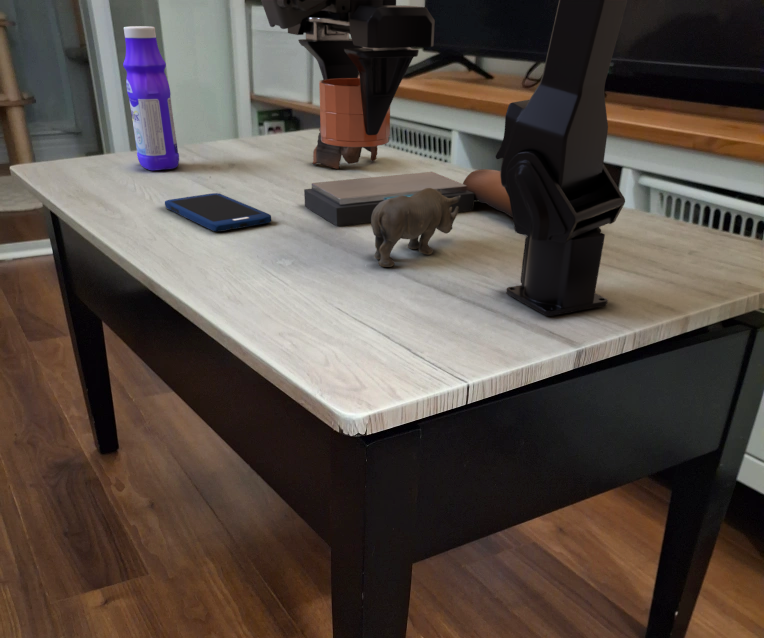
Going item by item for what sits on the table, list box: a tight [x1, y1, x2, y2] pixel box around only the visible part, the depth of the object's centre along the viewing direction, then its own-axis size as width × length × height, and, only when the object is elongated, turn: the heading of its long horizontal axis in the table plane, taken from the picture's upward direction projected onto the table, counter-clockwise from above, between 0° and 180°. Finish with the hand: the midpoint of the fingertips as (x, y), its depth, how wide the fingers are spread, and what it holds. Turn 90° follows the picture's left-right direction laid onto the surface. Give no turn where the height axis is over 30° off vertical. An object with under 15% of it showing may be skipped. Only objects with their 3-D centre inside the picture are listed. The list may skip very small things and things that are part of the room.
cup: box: [318, 77, 391, 147], centre depth 72 cm, size 7×7×5 cm
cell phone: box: [164, 192, 272, 233], centre depth 89 cm, size 7×14×1 cm, turn 37°
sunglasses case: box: [462, 168, 513, 218], centre depth 89 cm, size 18×7×7 cm
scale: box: [303, 171, 475, 227], centre depth 92 cm, size 10×18×3 cm, turn 116°
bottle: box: [122, 25, 180, 171], centre depth 106 cm, size 7×6×17 cm
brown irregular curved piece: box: [312, 127, 378, 170], centre depth 113 cm, size 12×10×8 cm
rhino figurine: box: [370, 188, 461, 268], centre depth 77 cm, size 4×14×6 cm, turn 139°
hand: (355, 128), depth 73 cm, fingers closed on cup, 6 cm apart
